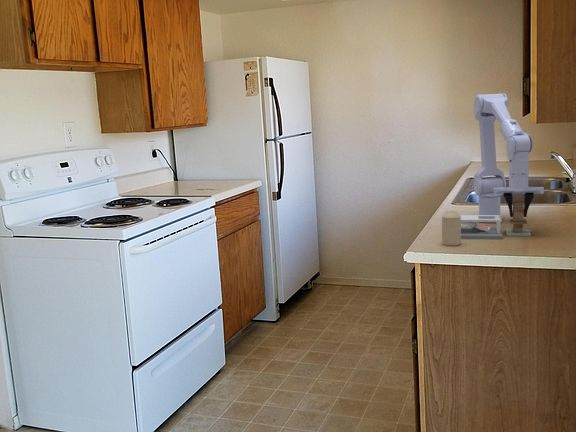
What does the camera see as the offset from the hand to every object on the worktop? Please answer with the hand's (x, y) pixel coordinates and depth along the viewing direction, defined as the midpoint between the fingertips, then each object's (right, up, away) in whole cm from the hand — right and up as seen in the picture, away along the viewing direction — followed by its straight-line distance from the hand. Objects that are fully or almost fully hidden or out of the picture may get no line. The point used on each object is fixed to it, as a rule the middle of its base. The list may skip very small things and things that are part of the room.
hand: (518, 216), depth 192 cm
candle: (-23, -9, -7) cm, 26 cm away
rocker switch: (-13, -3, +3) cm, 13 cm away
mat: (0, -5, +1) cm, 6 cm away
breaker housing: (-12, -6, +4) cm, 14 cm away
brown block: (0, -5, +1) cm, 5 cm away
